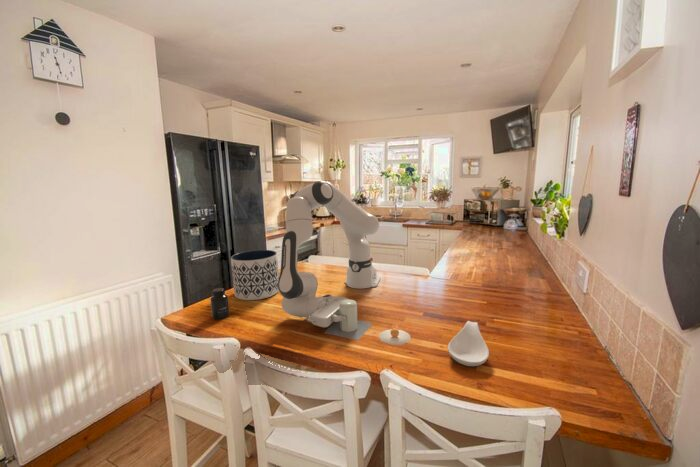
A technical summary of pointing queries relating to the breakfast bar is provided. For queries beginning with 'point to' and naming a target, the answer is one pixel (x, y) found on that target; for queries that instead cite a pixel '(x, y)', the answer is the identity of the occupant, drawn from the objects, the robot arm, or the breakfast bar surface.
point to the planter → (255, 274)
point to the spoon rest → (469, 346)
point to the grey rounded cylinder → (348, 315)
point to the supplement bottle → (219, 304)
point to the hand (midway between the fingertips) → (350, 314)
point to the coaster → (391, 340)
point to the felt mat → (355, 334)
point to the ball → (394, 332)
